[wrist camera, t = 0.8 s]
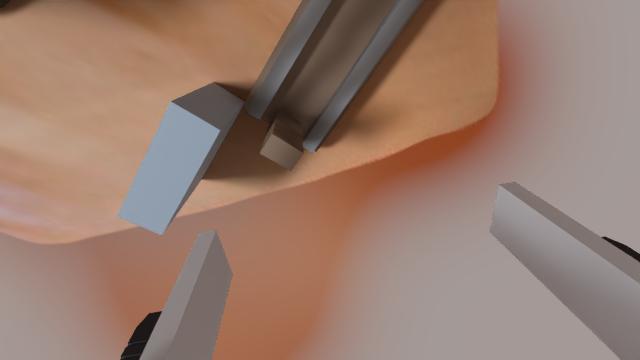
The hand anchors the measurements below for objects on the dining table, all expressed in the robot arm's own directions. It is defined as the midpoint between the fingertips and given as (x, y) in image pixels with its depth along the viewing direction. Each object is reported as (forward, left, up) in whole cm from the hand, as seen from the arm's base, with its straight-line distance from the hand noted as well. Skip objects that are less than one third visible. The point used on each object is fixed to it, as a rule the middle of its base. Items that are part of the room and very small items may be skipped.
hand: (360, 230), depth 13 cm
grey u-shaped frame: (-3, +9, -23) cm, 25 cm away
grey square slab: (-10, -10, -24) cm, 27 cm away
